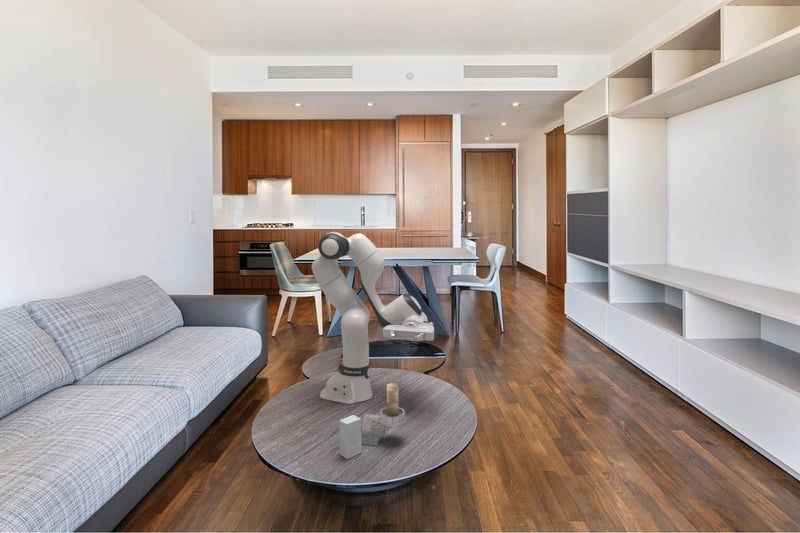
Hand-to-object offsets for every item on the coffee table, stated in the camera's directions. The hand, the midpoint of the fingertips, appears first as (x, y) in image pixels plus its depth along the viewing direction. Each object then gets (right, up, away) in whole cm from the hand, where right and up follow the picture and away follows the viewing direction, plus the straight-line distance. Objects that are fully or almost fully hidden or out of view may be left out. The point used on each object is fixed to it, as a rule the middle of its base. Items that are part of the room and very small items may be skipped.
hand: (404, 338), depth 174 cm
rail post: (-4, -26, -14) cm, 29 cm away
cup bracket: (-9, -34, -12) cm, 37 cm away
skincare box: (-18, -35, -22) cm, 45 cm away
